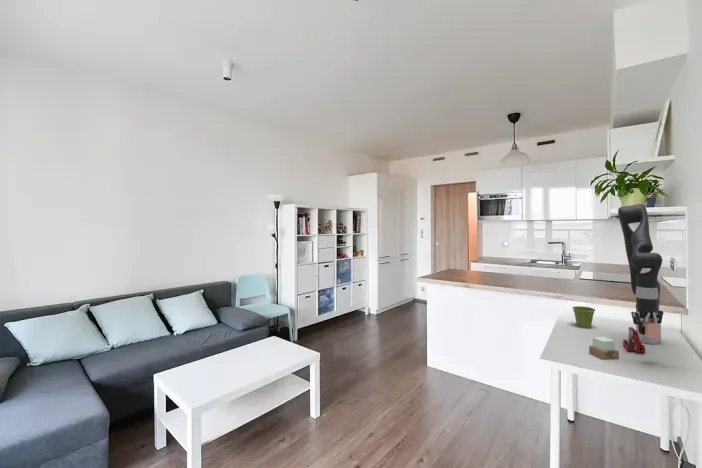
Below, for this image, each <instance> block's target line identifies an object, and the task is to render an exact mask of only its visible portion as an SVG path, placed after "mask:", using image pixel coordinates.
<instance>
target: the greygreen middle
mask: <svg viewBox="0 0 702 468" xmlns="http://www.w3.org/2000/svg"><path fill="white" fill-rule="evenodd" d="M615 342H616V341H615V340H614V339H610V338H608V337H605V336H595V337H594V336H592V346H593V347H595V348H597V349H599V350H602V351H613V350H616V347H615V346H616V345H615V344H616V343H615Z"/></svg>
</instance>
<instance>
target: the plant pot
mask: <svg viewBox="0 0 702 468" xmlns="http://www.w3.org/2000/svg"><path fill="white" fill-rule="evenodd" d="M571 309H572V310H573V313H574V317H575V323H576V326H577V327H578V328H583V329H590V328H592V323H593V318H594V314H595V311H596V308H593V307H589V306H581V305H578V306H577V305H576V306H571Z"/></svg>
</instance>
